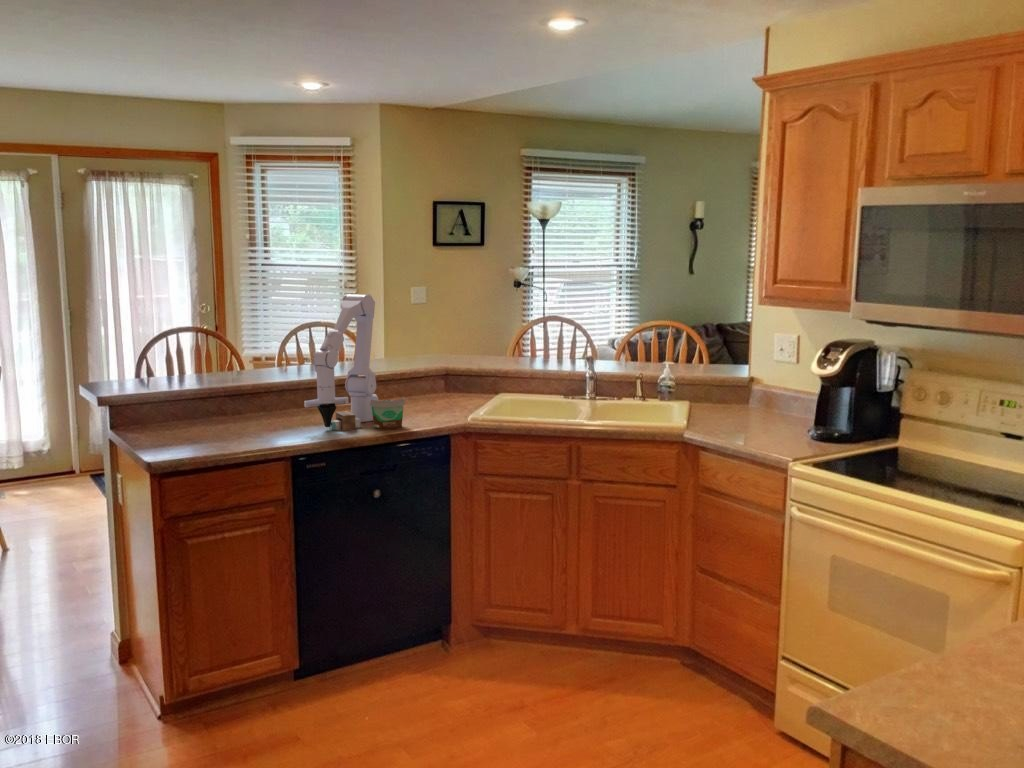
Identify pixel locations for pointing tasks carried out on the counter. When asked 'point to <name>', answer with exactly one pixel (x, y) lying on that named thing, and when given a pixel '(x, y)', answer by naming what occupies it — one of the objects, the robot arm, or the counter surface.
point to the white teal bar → (338, 424)
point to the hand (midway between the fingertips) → (327, 426)
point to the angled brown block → (346, 420)
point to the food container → (387, 414)
